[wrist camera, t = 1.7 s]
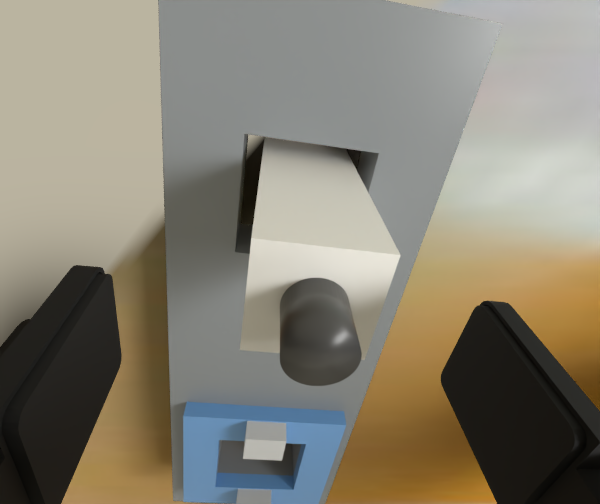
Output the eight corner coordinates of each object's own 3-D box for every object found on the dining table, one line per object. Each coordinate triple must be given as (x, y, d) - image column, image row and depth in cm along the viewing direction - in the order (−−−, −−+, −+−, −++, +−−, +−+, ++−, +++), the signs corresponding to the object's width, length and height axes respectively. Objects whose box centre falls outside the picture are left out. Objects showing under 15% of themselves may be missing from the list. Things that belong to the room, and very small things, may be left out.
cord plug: (345, 148, 19) (424, 302, 8) (329, 220, 21) (378, 415, 10) (264, 137, 18) (244, 284, 8) (256, 211, 20) (233, 406, 10)
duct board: (467, 23, 16) (538, 23, 12) (321, 468, 33) (327, 536, 29) (178, -33, 15) (134, -57, 10) (181, 462, 32) (165, 533, 27)
